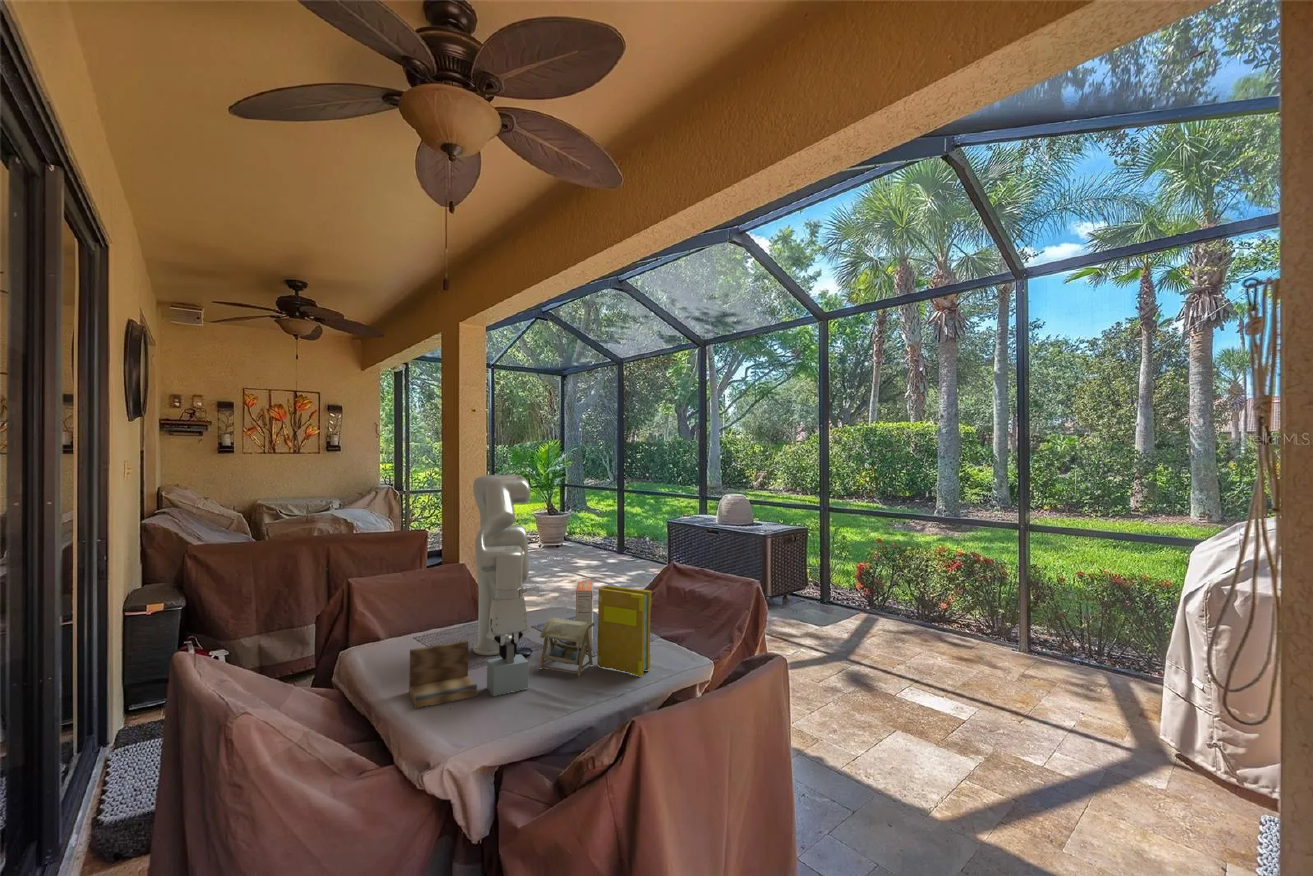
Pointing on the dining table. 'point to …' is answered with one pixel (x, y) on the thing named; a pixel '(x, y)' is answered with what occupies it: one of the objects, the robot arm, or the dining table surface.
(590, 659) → the swing bench
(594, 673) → the dining table surface
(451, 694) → the cleat board
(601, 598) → the book
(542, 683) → the dining table surface
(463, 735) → the dining table surface
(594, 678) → the dining table surface
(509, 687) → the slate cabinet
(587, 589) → the cracker box
